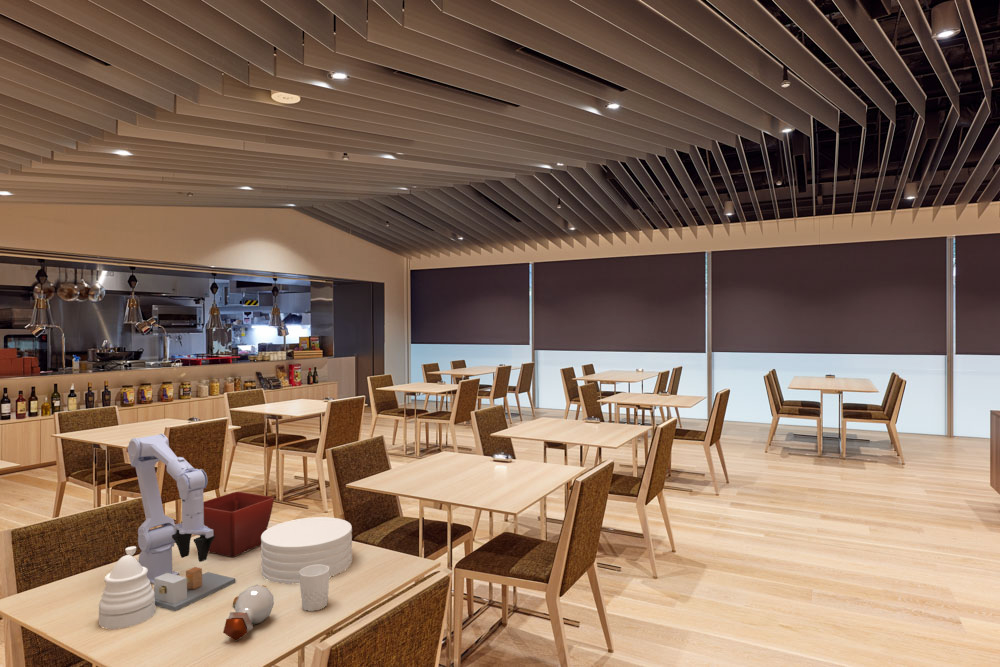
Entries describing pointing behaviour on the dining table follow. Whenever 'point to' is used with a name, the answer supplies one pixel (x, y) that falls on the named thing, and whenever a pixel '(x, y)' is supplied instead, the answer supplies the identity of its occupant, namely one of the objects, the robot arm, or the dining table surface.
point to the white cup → (314, 587)
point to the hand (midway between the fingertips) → (193, 558)
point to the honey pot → (126, 594)
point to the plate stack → (305, 547)
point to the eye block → (186, 589)
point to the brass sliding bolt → (189, 579)
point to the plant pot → (237, 521)
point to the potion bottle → (249, 611)
